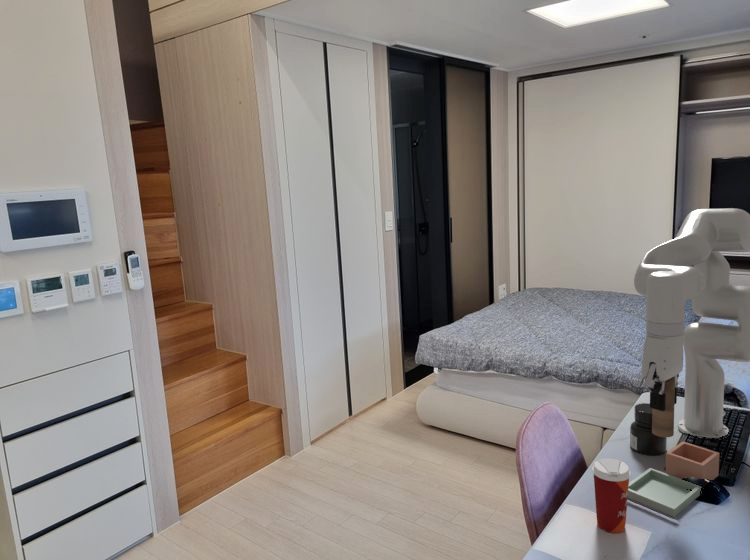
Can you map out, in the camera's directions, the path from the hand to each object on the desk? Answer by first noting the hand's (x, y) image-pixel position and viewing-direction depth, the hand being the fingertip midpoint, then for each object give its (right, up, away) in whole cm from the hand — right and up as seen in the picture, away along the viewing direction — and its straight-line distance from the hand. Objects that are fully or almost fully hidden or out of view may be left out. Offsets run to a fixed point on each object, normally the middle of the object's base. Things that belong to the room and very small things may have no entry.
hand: (663, 405), depth 128 cm
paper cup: (-14, -25, -5) cm, 29 cm away
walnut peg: (+1, -7, +1) cm, 7 cm away
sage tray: (+2, -22, +4) cm, 23 cm away
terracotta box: (+13, -20, +11) cm, 26 cm away
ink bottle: (+9, -18, +26) cm, 32 cm away
